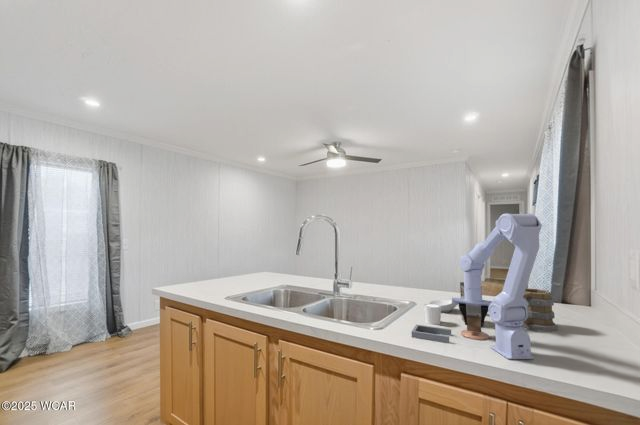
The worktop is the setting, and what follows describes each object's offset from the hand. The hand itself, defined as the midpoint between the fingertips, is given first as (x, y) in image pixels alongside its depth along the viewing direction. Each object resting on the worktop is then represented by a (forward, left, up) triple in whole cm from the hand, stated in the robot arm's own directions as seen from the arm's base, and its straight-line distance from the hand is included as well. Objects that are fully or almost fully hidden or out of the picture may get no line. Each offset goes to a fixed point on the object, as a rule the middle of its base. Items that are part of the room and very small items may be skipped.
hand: (474, 325), depth 108 cm
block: (0, 0, -2) cm, 2 cm away
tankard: (+9, -27, -4) cm, 29 cm away
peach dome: (0, 0, -4) cm, 4 cm away
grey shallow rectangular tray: (0, +15, -4) cm, 16 cm away
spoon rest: (+32, -8, -4) cm, 33 cm away
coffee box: (+15, -7, -4) cm, 17 cm away
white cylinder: (+16, +9, -4) cm, 19 cm away
